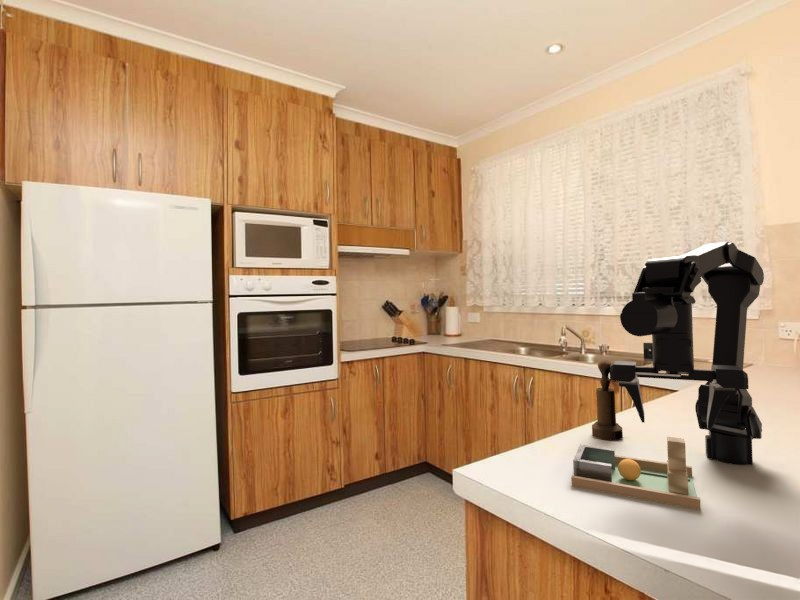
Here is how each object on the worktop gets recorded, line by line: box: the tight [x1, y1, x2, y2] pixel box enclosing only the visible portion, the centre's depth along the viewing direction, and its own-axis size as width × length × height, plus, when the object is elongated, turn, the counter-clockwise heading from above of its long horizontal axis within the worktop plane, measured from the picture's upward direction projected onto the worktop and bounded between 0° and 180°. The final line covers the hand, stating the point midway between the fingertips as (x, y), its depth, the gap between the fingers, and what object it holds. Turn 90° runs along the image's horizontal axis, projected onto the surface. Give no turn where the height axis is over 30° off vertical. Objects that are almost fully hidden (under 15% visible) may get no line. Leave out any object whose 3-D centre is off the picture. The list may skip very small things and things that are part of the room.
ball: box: [618, 459, 641, 480], centre depth 73 cm, size 4×4×4 cm
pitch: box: [571, 454, 702, 511], centre depth 73 cm, size 18×14×2 cm
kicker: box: [666, 436, 688, 495], centre depth 69 cm, size 3×6×8 cm, turn 150°
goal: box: [572, 443, 616, 482], centre depth 76 cm, size 6×9×4 cm, turn 149°
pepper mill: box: [591, 359, 624, 441], centre depth 99 cm, size 7×6×18 cm
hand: (675, 425), depth 70 cm, fingers open, 9 cm apart
